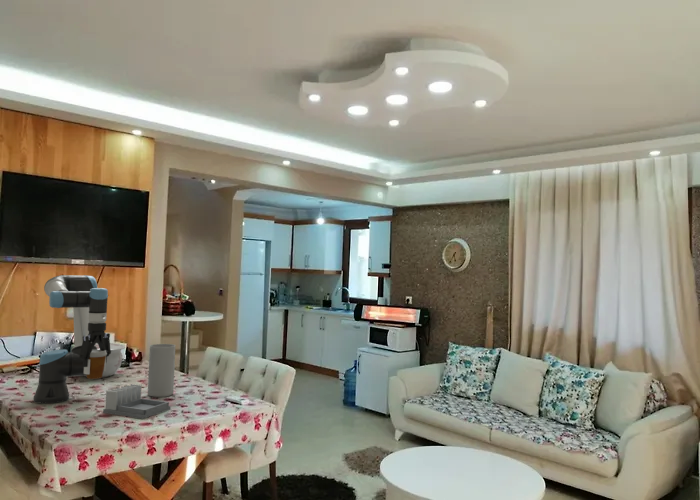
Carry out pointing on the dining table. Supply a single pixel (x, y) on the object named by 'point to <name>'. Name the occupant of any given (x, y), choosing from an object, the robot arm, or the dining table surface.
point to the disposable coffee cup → (96, 364)
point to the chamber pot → (112, 359)
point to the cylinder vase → (161, 370)
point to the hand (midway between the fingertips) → (94, 372)
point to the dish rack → (132, 403)
